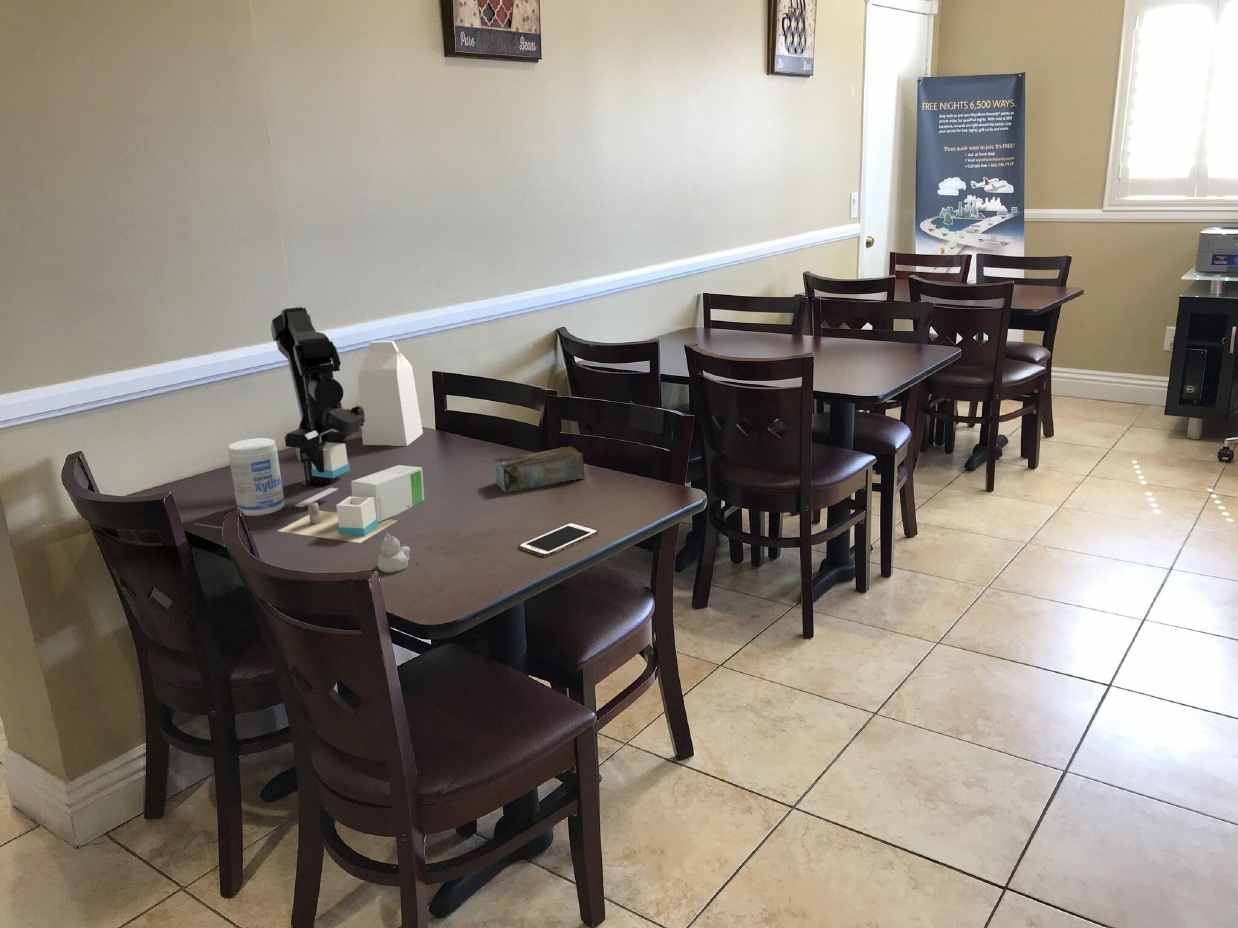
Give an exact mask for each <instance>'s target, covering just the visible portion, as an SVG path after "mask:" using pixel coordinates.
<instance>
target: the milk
mask: <svg viewBox="0 0 1238 928" xmlns="http://www.w3.org/2000/svg"><path fill="white" fill-rule="evenodd" d="M357 379H358V380H357V382H358V394H359V406H360V407H362V408H363V410H364V415H365V417H364V419H365V422H364V423H363V426H361V435H362V446H363V445H391V446H390V447H394V446H395V447H407V446H409V445H410V444H411V443H413V442H414V441H415V440H417V439H418V438H419V437H420V436H422V435H423V434H424V431H423V425H422V418H421V414H420V406H419V400H418V395H417V387H416V384H415V377H414V371H413V367H412V364H411V363H410V361H408V359H407V358H406V357H405V356H404V355H403V354H402V353H401V352H400V350H399V348H398V345H396V343H395V340H372V341H370V342H369V345H368V348H367V353H366V354H365V356H364V358H363V362H362V363H361V365H360V367H359V371H358V375H357Z"/></svg>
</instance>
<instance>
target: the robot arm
mask: <svg viewBox="0 0 1238 928" xmlns="http://www.w3.org/2000/svg"><path fill="white" fill-rule="evenodd" d="M270 324H271V325H270V330H271V331H270V332H271V336H272V341H273V342H276V346H277V349H278V351H279V352H280V353H281V354H282V355H283V356H284V357H285V358H286V359H287V362H288V366H289V371H290V374H291V378H292V384H293V389H294V392H295V396H296V401H297V404H298V405H297V406H298V409H299V414H300V418H301V419H300V420H301V421H300V422H299V426H298V428H297V429H294V430H292V431H289V432H287V433H286V434H285V435H284V438H283V439H284V442H285V447H286V448H295V449H294V450H295V453H296V458H297V460H298V462H300V463H302V465H303V471H304V478H305V481H303V482H301V483H300V485H301V486H305V485H306V486H308V487H316V488H325V487H327V486H329V485H332V484H334V483H335V482H338V481H340V480H342V477H340V476H337V477H335V478H328V477H319V476H312V471H311V469H312V463H313V465H314V466H315V467H316V469H317V470H318V472H320V473H323V472H324V460H323V448H324V447H325V445H326V444H327V443H324V442H333V443H344V444H345V446H346V445H347V442H348V439H349V438H350V437H351V436H352V435H353V434H355V433H358V432H360V428H362V426H363V423H364V422H365V419H364V417H365V415H364V410H363V408H362V407H360V405H356V406H354V407H351V409H350V408H346V409H345V408H343V407H342V406H343V405H342V402H341V401H342V400H343V397H344V389H343V386H342V385H341V384H340V382H339V381H338V380H337V379H335V377H334V372H339V371H340V370H341V368H340V366H341V359H340V357H339V354H338V349H337V346H335V345H334V343H333V341H332V340H330V339H329V337H328V336H327V335H326V334H325V333H323V332H319V331H316V329H315V327H314V326H313V323H312V319H311V315H310V314H309V313H308V311H307V308H306V307H302V306H298V307H290V308H289V307H288V308H284V309H282V310H281V313H280V314H278V315H277V316H275V317H274V318H273V319H271V323H270Z"/></svg>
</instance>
